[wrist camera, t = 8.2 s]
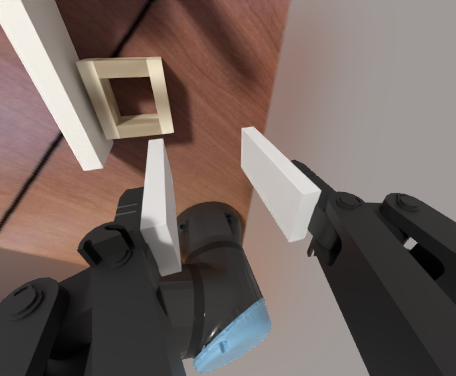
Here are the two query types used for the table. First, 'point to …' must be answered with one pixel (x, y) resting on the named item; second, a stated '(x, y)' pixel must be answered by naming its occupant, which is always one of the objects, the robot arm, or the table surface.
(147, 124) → the hole block
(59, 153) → the table surface
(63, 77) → the wall
